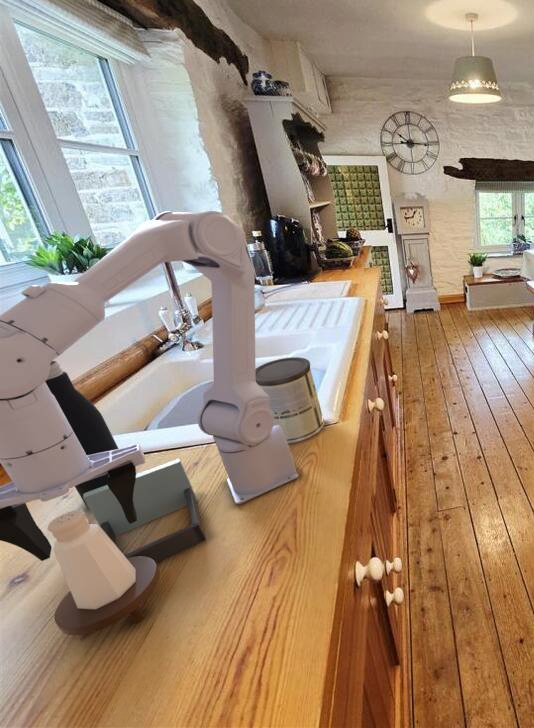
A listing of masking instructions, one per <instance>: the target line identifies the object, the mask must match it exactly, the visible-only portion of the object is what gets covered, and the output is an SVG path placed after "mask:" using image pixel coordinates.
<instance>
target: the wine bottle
mask: <svg viewBox="0 0 534 728" xmlns="http://www.w3.org/2000/svg"><path fill="white" fill-rule="evenodd" d="M45 382H46V384H47V386H48V388H49V390H50V391H51V393H52V394H53V395H54V397H55V399H56V400H57V402H58V404H59V406H60V408H61V409H62V411H63V413H64V415H65V417H66V419H67V420H68V422H69V424H70V426H71V428H72V430H73V431H74V433H75V435H76V437H77V439H78V440H79V442H80V444H81V446H82V448H83V450H84V451H85V453H86V455H92V454H97V453H101V452H106V451H111V450H116V449H120V448H119V446H118V445H117V443H116V441H115V439H114V436H113V434H112V433H111V430H110V428H109V427H108V424H107V423H106V420H105V418H104V417H103V415H102V413H101V412H100V410H99V409H98V408H97V407H96V406H95V404H94V403H93V402H92V401H91V400H90V399H89V398H87V397H86V396H85V395H84V394H83V393H82V392H80V391H79V390H78V389H77V388H75V386H74V384H73V381H72V380H71V378H70V377H69V374H68V373H67V372H66V371H63V367H61V363H59V362H58V361H57V360H53V361H51V363H50V373H49V376H48V378H47V380H46V381H45ZM106 485H108V474H105V475H103V476H100V477H97V478H94V479H91V480H89V481H86V482H83V483H80V484H78V485H76V486H74V488H75V490H76V491H77V493H78V495H79V496H80V499H81V500H82V502H83V504H84V505H85V507H86V508H87V509H89V507H88V506H87V504H86V502H85V500H84V499H83V495H84V493H87V492H89V491H92V490H95V489H97V488H100V487H103V486H106Z"/></svg>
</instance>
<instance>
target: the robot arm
mask: <svg viewBox="0 0 534 728" xmlns="http://www.w3.org/2000/svg"><path fill="white" fill-rule="evenodd" d="M246 237H247V236H246V231H244V229H242V228H241V227H240V225H238V224H237V223H236V222H235V221H234V220H233V219H232V218H231V217H230V216H228V215H227V214H225V213H223V212H220V211H216V210H207V211H203V212H202V211H197V212H195V211H194V212H192V211H191V212H189V211H187V212H185V211H184V212H183V211H181V212H180V211H172V210H168V211H163V212H160V213H159V214H157V215H156V216H155V217H154V218H153V219H152V220H151V219H149V220H148V221H145V222H143V223H141V224H140V225H139V227H138V228H137V229H136V230H135V231H134V232H133V233H132V234H131V235H130V236H128V237H127V238H126V239H125V240H123V241H122V242H121V243H119V244H118V245H117V246H115V248H113V249H112V250H110V251H109V252H108V253H107V254H106V255H104V256H103V257H102V258H101V259H99V260H98V261H96V263H95V264H93V265H92V266H91V267H90V268H88V269H87V270H86V271H84V272H83V273H82V274H81V275H79V276H78V277H77V278H76V279H75V280H73V281H72V282H63V281H62V282H61V281H49V282H46V284H44V285H42V286H41V285H33V284H32V285H29V286H27V288H25V289H23V290H22V291H21V292H20V293H21V295H22V296H24V297H25V298H23V299H22V300H20V301H19V302H17V303H16V304H15V305H14V306H12V307H10V308H9V309H7V310H6V311H4V312H3V313H2V314H0V465H1V466H2V468H3V469H4V470H5V472H6V473H7V475H8V476H9V478H10V480H11V482H8V483H5V484H4V485H1V486H0V541H1V542H5V543H8V544H10V545H13V546H17V547H18V548H20V549H21V550H22V549H23V550H24V551H26V552H27V553H29V554H31V555H32V556H34V557H35V558H37V559H38V560H39V561H41V562H43V561H46V560H49V559H50V558H51V553H52V548H53V547H52V545H51V542H50V541H49V539H48V538H47V536H46V535H45V533H44V532H43V531H42V530H41V528H40V527H39V525H37V523H36V521H35V519H34V518H33V515H32V514H31V511H30V509H29V508H28V505H27V503H29V502H30V503H31V502H32V501H38V500H40V501H41V502H49V501H51V500H54V499H56V498H60V497H62V496H64V495H66V494H68V493H69V491H70V489H72V488H75V486H76V485H78V484H80V483H83V482H86V481H89V480H91V479H94V478H97V477H100V476H103V475H105V474H108V487H109V489H110V490H111V491H112V493H113V494H114V495H115V497H116V498H117V500H118V501H119V503H120V505H121V507H122V509H123V511H124V514H125V516H126V519H127V521H128V522H129V524H131V523H133V522H136V521H137V513H136V510H135V507H134V503H133V492H134V485H135V481H136V474H137V467H138V466H140V465H143V464H146V456H145V453H144V450H143V449H142V447H141V444H140V443H135V444H132V445H129V446H125V447H121V448H119V449H116V450H111V451H106V452H101V453H97V454H92V455H86V453H85V451H84V450H83V448H82V446H81V444H80V442H79V440H78V439H77V437H76V435H75V433H74V431H73V430H72V428H71V426H70V424H69V422H68V420H67V419H66V417H65V415H64V413H63V411H62V409H61V408H60V406H59V404H58V402H57V400H56V399H55V397H54V395H53V394H52V393H51V391H50V390H49V388H48V386H47V384H46V382H45V381H46V380H47V378H48V376H49V373H50V363H51V361H55V360H56V359H57V358H59V356H61V355H62V354H64V353H65V352H66V351H67V350H68V349H70V348H71V347H72V346H73V345H74V344H76V343H77V342H78V341H79V340H81V339H82V338H83V337H84V336H85V335H86V334H88V333H89V332H91V331H92V330H93V329H94V328H95V327H96V326H99V324H101V322H103V321H104V320H105V318H106V309H105V305H106V303H107V302H108V301H110V300H111V299H112V298H114V297H116V296H117V295H119V294H121V292H122V291H124V290H126V289H127V288H128V287H130V286H131V285H132V284H134V283H135V282H137V281H138V280H140V279H141V278H142V277H145V275H147V274H149V273H150V272H151V271H153V270H154V269H156V268H157V267H158V266H160V265H161V264H164V263H172V262H183V263H185V264H188V265H190V266H192V267H193V268H194V269H195V270H197V271H198V272H199V273H200V274H202V275H203V276H204V277H205V278H207V279H208V280H209V281H210V283H211V317H212V318H211V320H212V321H211V322H212V325H211V326H212V359H213V361H212V362H213V363H212V364H213V384H211V386H210V387H208V389H206V391H204V393H203V402H202V406H201V408H200V410H199V412H198V414H197V415H198V416H197V425H198V428H199V429H200V431H201V432H202V433H204V434H205V435H207V436H212V438H213V440H214V442H215V444H216V448H217V450H218V453H219V456H220V458H221V461H222V464H223V466H224V469H225V471H226V474H227V479H226V483H227V486H228V488H229V490H230V492H231V496H232V498H233V500H234V503H235V505H236V506H237V505H241V504H244V503H246V502H248V501H250V500H252V499H254V498H256V497H259V496H260V495H264V494H266V493H267V492H269V491H272V490H274V489H277V488H278V487H280V486H283V485H285V484H287V483H289V482H292V481H294V480H296V479H298V478H299V473H298V472H297V468H296V465H295V462H294V458H293V454H292V451H291V448H290V444H288V442H287V439H286V437H285V435H284V432H283V430H282V428H281V427H280V426H279V425H275V426H274V414H273V412H272V410H271V408H270V406H269V396H268V395H267V393H266V392H265V391H264V390H263V389H262V388H261V387H260V386H259V385H258V384H257V383H256V375H255V369H256V295H255V293H256V288H255V287H256V286H255V285H256V283H255V281H256V280H255V278H256V277H255V269H254V266H253V264H252V261H251V259H250V256H249V254H248V251H247V249H246V248H247V247H246V246H247V241H246Z"/></svg>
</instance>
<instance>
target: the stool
mask: <svg viewBox="0 0 534 728" xmlns="http://www.w3.org/2000/svg"><path fill="white" fill-rule="evenodd" d="M127 560H128V561H129V562H130V563H131V564H132V565H133V567H134V568H135V569H136V581H135V583H134V584H133V585H132V586H131V587H130V588H129V589H128V590H127V591H126V592H125V593H124V594H123V595H122V596H121V597H120V598H118V599H116V600H114V601H112V602H110V603H108V604H106V605H104V606H102V607H100V608H98V609H82V608H78V607H77V605H76V603H75V600H74V598H73V596H72V593H71V591H70V590H69V591H68V592H67V593H66V594H65V595H64V597H63V598H62V599H61V601H60V602H59V603H58V605H57V607H56V609H55V612H54V617H53V618H54V622H55V624H56V626H57V627H58V629H59V630H60V631H61V632H62V633H64V634H66V635H68V636H82V635H88V634H92V633H95V632H99V631H100V630H103V629H105V628H107V627H110V626H111V625H113V624H116V623H117V622H119V621H120V620H122V619H123V618H125V617H127V616H129V617H130V619H131V620H132V623H134V624H137V623H139V622H141V621H142V620H143V619H144V618H145V614H144V612H143V611H142V609H141V607H140V606H141V605H142V604H143V603H144V602H146V600H147V599H148V598H149V597H150V595H152V593H153V592H154V590H155V589H156V587H157V585H158V583H159V581H160V577H161V570H160V568H159V566H158V563H155V561H154V560H153V559H151V558H149V557H143V556H138V557H131V558H127Z"/></svg>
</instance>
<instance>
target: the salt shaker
mask: <svg viewBox="0 0 534 728" xmlns="http://www.w3.org/2000/svg"><path fill="white" fill-rule="evenodd" d="M47 530H48V531H49V532H50V533H52V536H53V537H54V539H56V540H55V541H54V546H53V552H54V555H55V558H56V560H57V563H58V565H59V567H60V570H61V572H62V574H63V576H64V580H65V581H66V584H67V586H68V589H69V592H70V591H71V593H72V596H73V598H74V600H75V603H76V605H77V607H78V608H82V609H98V608H100V607H102V606H104V605H106V604H108V603H110V602H112V601H114V600H116V599H118V598H120V597H121V596H122V595H123V594H124V593H125V592H126V591H127V590H128V589H129V588H130V587H131V586H132V585H133V584H134V583H135V581H136V569H135V568H134V567H133V565H132V564H131V563H130V562H129V561H128V560H127V558H126V557H125V556H124V555H125V554H124V553H123V552H122V551H121V550H120V549H119V547H118V546H117V544H116V545H115V544H114V543H113V542H112V540H111V539H110V538H109V537H108V536H107V534H106V533H105V532H104V531H103V530H102V528H101V527H100V526H99V525H98V523H97V524H95V523H89V520H88V518H87V517H86V513H85V512H84V511H83V510H81V509H75V510H74V509H73V510H70V511H67V512H65V513H62V514H61V515H58V516H57V517H55V518H54V519H52V520H51V521H50V523H49V524H48V526H47Z"/></svg>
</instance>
